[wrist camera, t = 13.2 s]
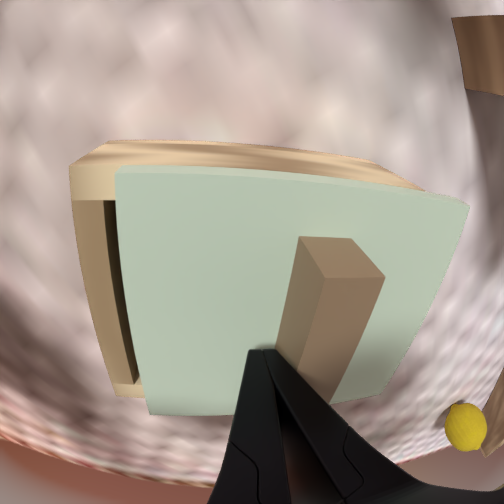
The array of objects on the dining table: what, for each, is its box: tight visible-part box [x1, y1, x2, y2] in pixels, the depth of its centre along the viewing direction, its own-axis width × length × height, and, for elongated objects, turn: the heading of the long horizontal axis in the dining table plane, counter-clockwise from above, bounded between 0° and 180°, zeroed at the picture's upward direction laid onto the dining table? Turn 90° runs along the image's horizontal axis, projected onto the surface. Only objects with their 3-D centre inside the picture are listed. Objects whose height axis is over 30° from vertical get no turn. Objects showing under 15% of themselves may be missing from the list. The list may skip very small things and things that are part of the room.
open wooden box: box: [69, 140, 425, 398], centre depth 12 cm, size 11×10×4 cm
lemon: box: [445, 403, 487, 451], centre depth 27 cm, size 6×6×8 cm
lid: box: [115, 165, 470, 416], centre depth 9 cm, size 11×10×3 cm
